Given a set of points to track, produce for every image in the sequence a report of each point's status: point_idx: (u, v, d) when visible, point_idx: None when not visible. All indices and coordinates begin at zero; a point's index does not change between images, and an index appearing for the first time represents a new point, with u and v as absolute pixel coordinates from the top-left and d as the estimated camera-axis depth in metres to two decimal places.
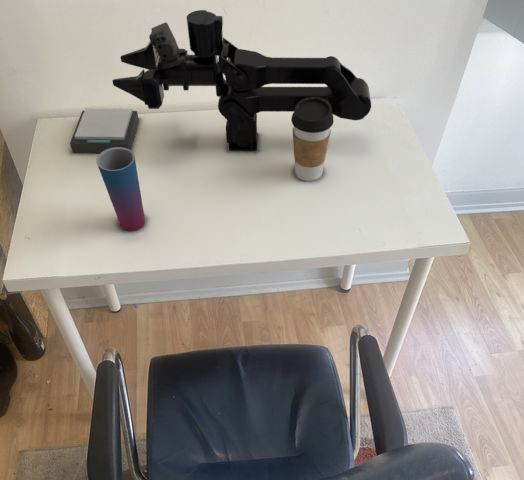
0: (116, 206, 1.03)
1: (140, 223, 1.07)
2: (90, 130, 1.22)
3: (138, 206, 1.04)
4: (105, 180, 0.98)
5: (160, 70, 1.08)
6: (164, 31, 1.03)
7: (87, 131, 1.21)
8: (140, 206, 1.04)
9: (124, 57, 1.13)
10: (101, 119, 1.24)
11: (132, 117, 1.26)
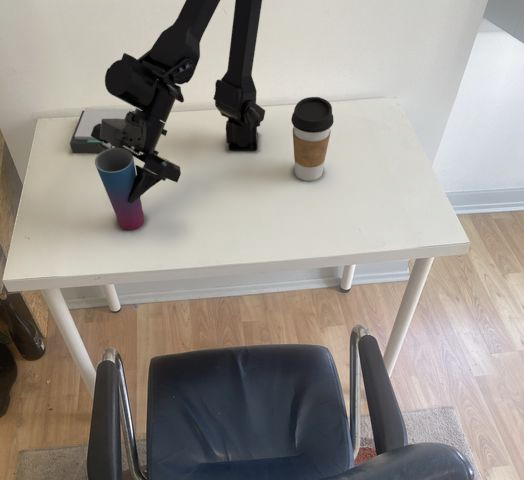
0: (115, 206, 1.02)
1: (139, 222, 1.07)
2: (90, 130, 1.22)
3: (137, 206, 1.04)
4: (104, 181, 0.97)
5: (142, 150, 0.97)
6: (115, 126, 0.91)
7: (87, 131, 1.21)
8: (139, 206, 1.04)
9: None
10: (101, 119, 1.24)
11: None
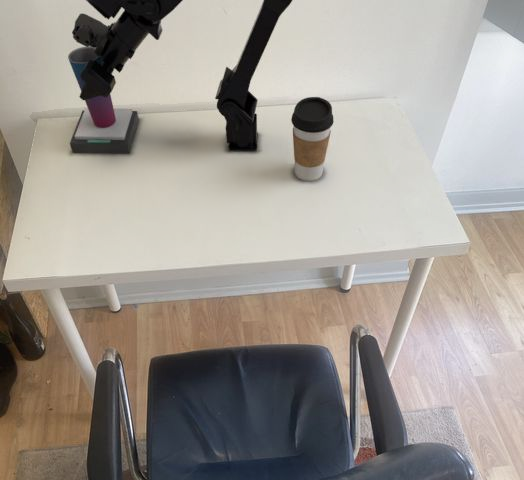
0: None
1: (101, 123, 1.21)
2: (90, 130, 1.22)
3: (96, 106, 1.17)
4: None
5: (101, 57, 1.08)
6: (76, 21, 1.04)
7: (87, 131, 1.21)
8: (100, 108, 1.18)
9: None
10: None
11: (132, 117, 1.26)
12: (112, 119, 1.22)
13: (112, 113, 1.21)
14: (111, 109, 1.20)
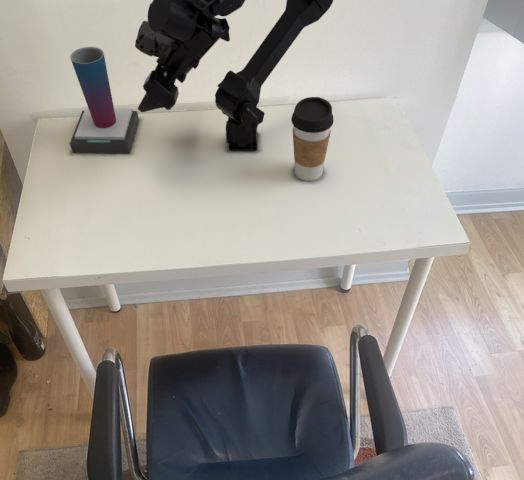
0: None
1: (101, 123, 1.21)
2: (90, 130, 1.22)
3: (97, 106, 1.18)
4: None
5: (164, 67, 1.02)
6: (140, 29, 0.98)
7: (87, 131, 1.21)
8: (101, 108, 1.18)
9: None
10: None
11: (132, 117, 1.26)
12: (112, 120, 1.22)
13: (113, 114, 1.21)
14: (112, 110, 1.20)
